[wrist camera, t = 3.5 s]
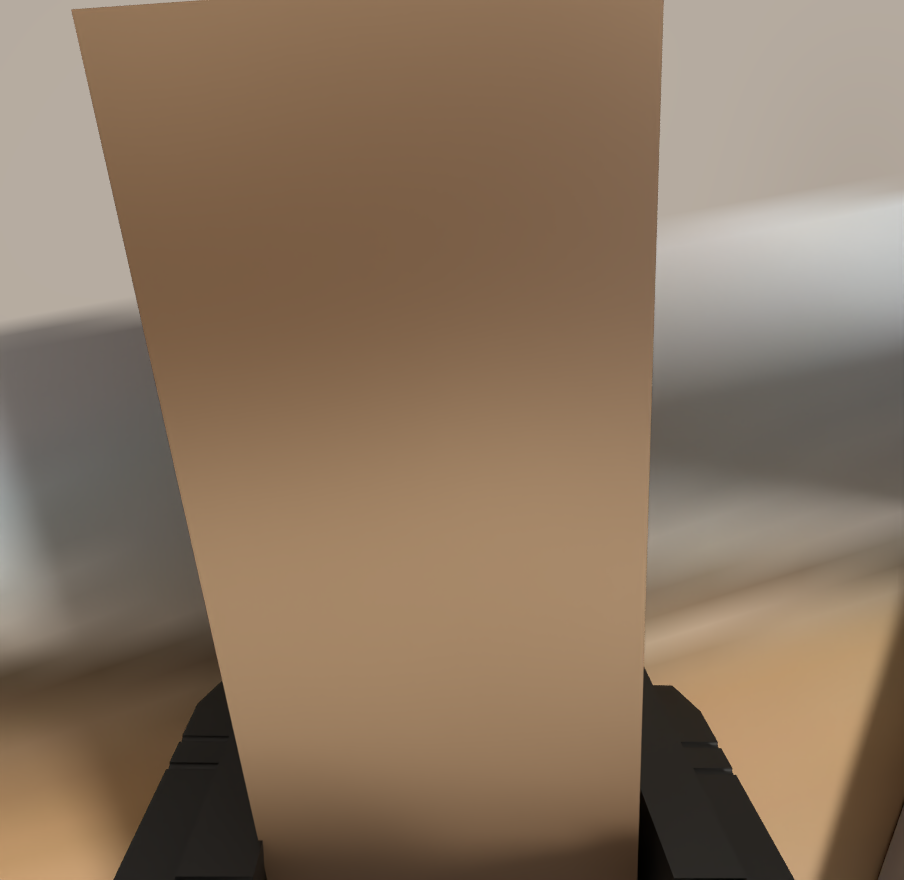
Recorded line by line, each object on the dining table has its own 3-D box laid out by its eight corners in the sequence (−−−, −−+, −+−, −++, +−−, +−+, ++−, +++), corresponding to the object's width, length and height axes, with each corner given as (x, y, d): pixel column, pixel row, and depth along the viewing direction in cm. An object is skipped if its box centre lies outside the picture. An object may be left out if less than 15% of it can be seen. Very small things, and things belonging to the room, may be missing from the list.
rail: (238, 109, 7) (72, 10, 4) (553, 86, 7) (663, -33, 4) (385, 1028, 12) (369, 1333, 9) (570, 1012, 12) (624, 1308, 9)
